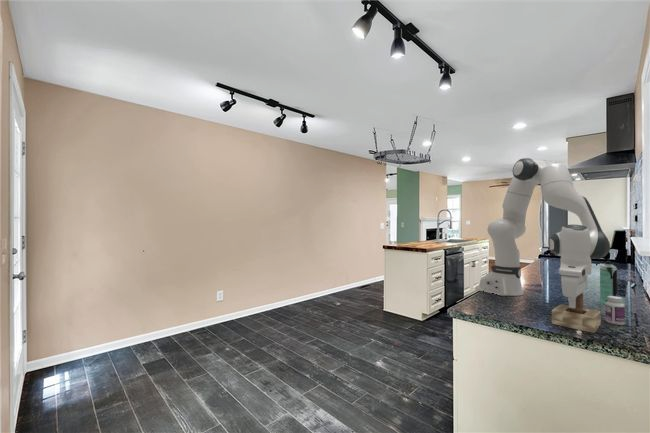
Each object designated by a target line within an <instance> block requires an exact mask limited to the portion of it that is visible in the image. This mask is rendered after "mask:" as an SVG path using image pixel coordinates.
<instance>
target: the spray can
mask: <svg viewBox="0 0 650 433" xmlns="http://www.w3.org/2000/svg"><path fill="white" fill-rule="evenodd" d="M599 266H600V267H599V287H600V288H599V294H600V295H599V300H600V303H599V304H600V306H602V307H605V303H606V302H607V301H608V300H607V296H616V297H618V269H617V268H618V267H617V266H615V265H613V264H612V262H611V261H610V260H606V261H605V262H604V263H603V264H602V265H599Z"/></svg>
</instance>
